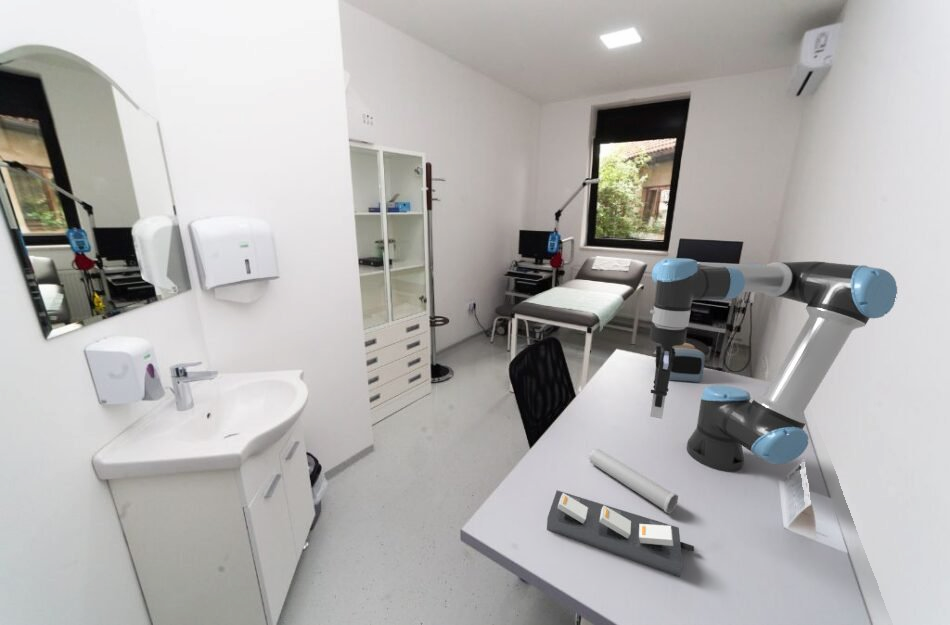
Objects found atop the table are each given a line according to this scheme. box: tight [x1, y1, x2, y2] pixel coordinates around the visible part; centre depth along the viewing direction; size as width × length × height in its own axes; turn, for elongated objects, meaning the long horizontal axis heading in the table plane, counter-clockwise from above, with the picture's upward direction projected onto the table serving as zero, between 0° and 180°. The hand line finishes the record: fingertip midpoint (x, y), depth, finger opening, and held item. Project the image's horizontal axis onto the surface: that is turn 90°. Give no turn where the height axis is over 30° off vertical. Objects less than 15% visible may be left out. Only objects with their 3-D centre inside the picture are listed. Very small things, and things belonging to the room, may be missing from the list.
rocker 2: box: [599, 506, 631, 539], centre depth 83 cm, size 6×4×2 cm, turn 65°
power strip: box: [546, 490, 695, 578], centre depth 84 cm, size 31×10×4 cm, turn 65°
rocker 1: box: [558, 492, 588, 523], centre depth 86 cm, size 6×4×2 cm, turn 65°
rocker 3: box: [639, 524, 673, 546], centre depth 79 cm, size 6×4×2 cm, turn 65°
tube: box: [588, 448, 679, 515], centre depth 102 cm, size 5×5×25 cm
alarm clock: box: [669, 342, 706, 383], centre depth 173 cm, size 16×16×16 cm
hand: (655, 416), depth 91 cm, fingers closed
